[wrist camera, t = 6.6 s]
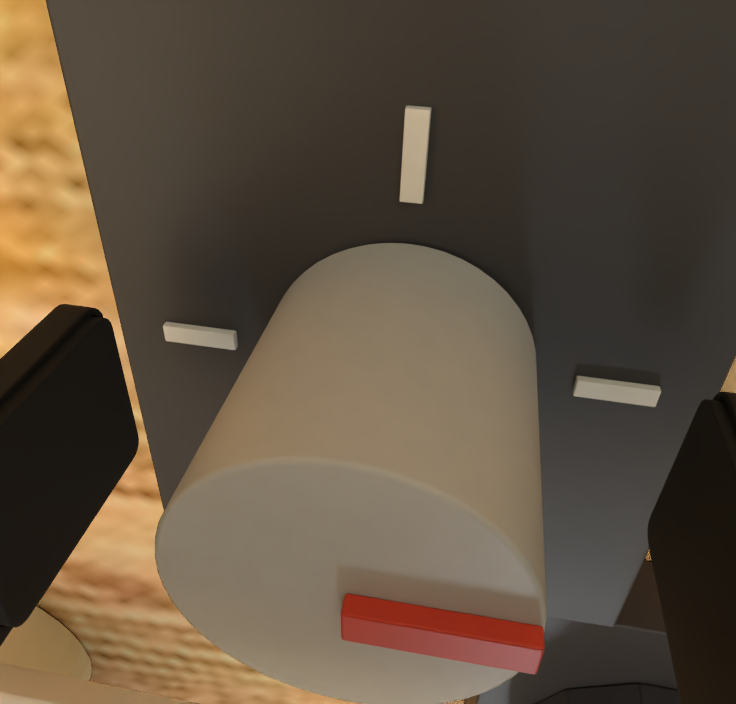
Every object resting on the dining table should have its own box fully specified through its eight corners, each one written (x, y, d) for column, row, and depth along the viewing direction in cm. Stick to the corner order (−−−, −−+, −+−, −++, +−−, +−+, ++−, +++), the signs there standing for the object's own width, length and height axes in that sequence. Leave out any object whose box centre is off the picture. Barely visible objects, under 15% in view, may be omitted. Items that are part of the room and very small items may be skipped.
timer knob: (281, 440, 14) (175, 692, 9) (262, 228, 11) (100, 452, 7) (514, 472, 13) (514, 759, 9) (558, 255, 10) (589, 524, 6)
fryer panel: (123, -126, 11) (5, -128, 8) (832, -98, 10) (948, -90, 7) (214, 466, 19) (168, 555, 17) (601, 528, 18) (615, 635, 15)
